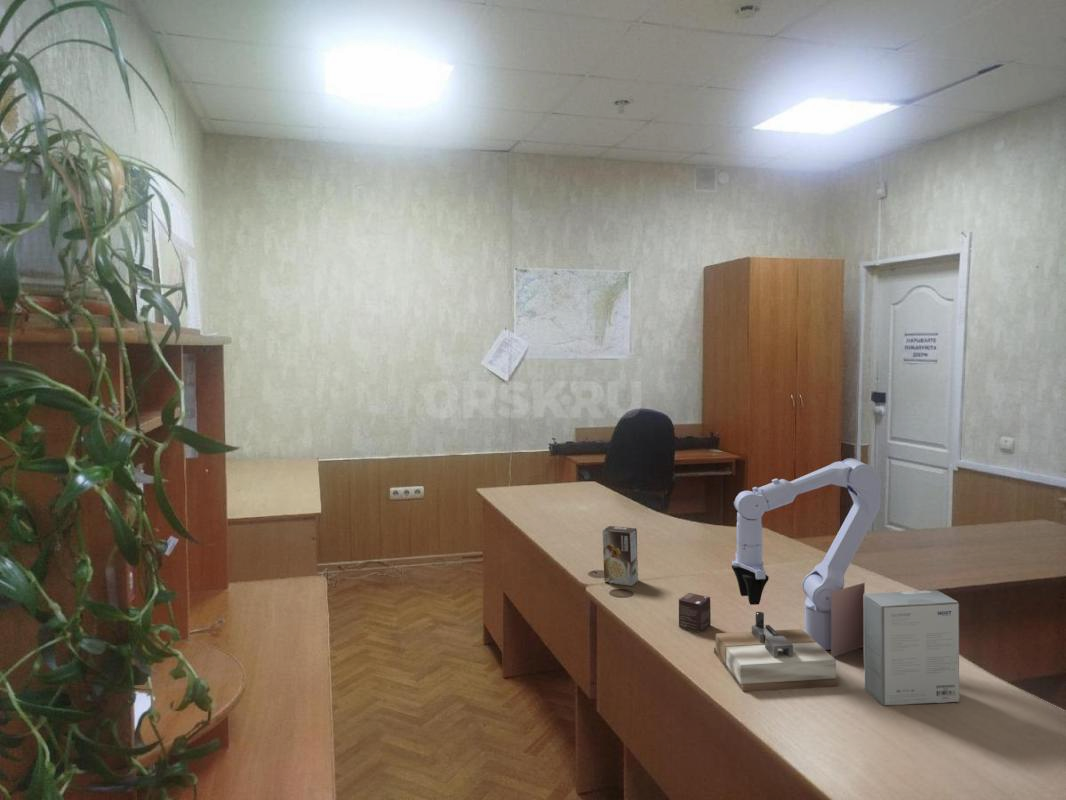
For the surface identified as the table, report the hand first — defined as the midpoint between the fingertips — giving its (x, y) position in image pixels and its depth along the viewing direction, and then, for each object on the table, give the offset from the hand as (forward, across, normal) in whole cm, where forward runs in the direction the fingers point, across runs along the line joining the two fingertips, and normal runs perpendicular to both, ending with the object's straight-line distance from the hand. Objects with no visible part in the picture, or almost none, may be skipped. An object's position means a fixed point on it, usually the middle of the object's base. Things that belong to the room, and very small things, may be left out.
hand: (749, 599), depth 169 cm
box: (+11, -12, -10) cm, 19 cm away
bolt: (+5, +9, 0) cm, 10 cm away
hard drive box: (+11, +28, +22) cm, 38 cm away
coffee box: (+11, -48, -22) cm, 54 cm away
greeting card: (+11, +10, +21) cm, 26 cm away
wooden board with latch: (+10, +14, 0) cm, 17 cm away
